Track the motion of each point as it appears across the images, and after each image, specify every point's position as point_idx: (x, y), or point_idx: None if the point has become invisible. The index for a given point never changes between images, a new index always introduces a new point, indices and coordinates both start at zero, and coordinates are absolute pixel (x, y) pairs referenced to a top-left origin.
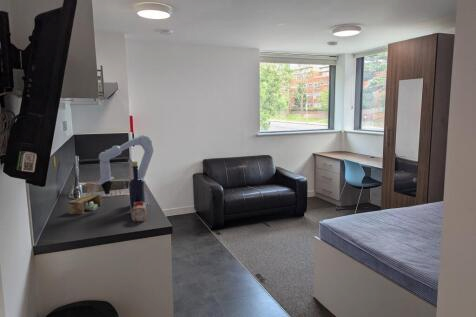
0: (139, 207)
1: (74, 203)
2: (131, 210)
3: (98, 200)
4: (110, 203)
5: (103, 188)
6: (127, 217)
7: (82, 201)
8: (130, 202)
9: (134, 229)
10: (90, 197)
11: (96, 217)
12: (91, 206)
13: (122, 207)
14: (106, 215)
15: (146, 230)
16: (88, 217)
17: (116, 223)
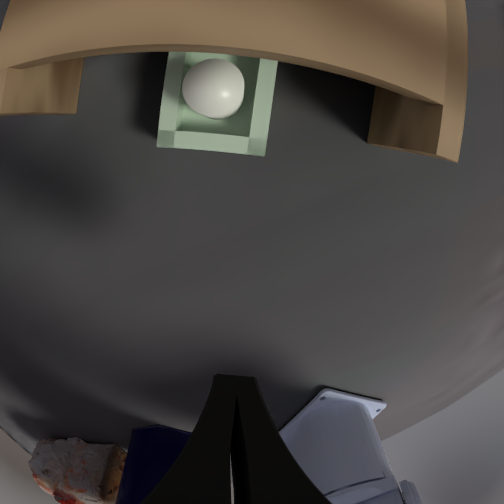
0: (48, 492)
1: (13, 14)
2: (34, 468)
3: (396, 120)
4: (421, 217)
5: (176, 464)
6: (83, 420)
7: (42, 58)
8: (119, 485)
9: (12, 431)
10: (281, 40)
11: (20, 273)
12: (161, 124)
13: (275, 365)
14: (68, 323)
15: (25, 450)
16: (7, 214)
17: (12, 389)
